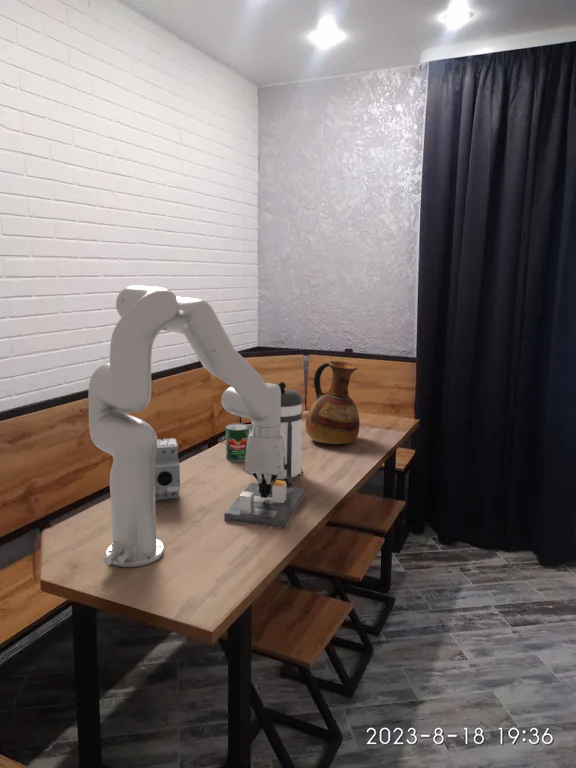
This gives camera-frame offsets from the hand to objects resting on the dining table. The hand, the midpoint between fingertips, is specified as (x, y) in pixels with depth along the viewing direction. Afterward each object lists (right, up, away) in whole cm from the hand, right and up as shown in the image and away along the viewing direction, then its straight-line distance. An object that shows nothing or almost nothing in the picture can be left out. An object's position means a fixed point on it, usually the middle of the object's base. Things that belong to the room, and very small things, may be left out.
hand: (265, 495), depth 158 cm
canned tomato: (-11, +5, +40) cm, 42 cm away
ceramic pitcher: (+22, +9, +60) cm, 64 cm away
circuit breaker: (-28, -2, +6) cm, 29 cm away
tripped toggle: (+4, -1, -1) cm, 4 cm away
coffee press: (+4, +1, +21) cm, 21 cm away
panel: (0, -3, +1) cm, 3 cm away
